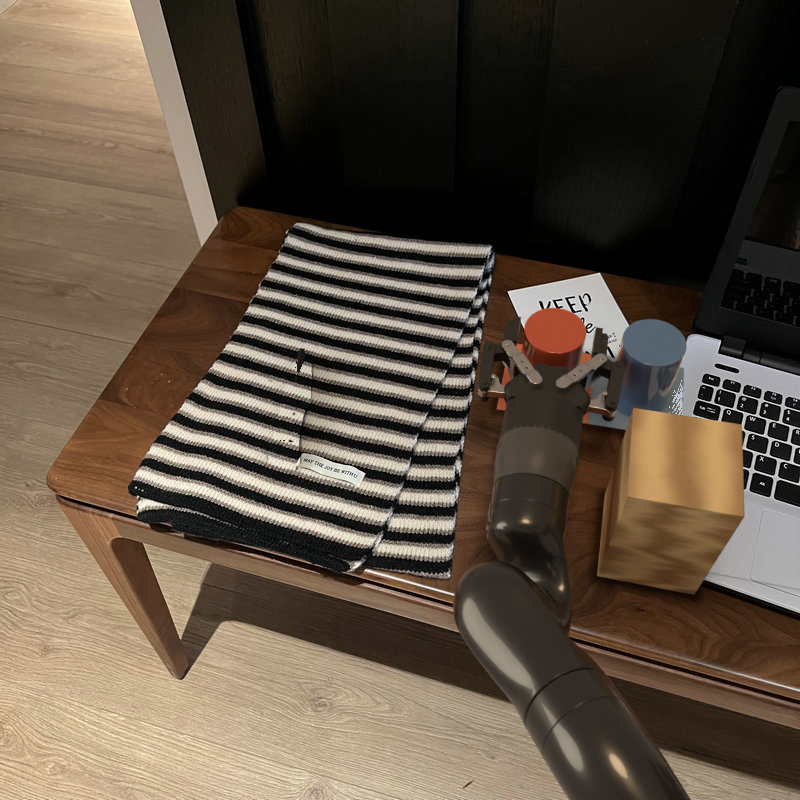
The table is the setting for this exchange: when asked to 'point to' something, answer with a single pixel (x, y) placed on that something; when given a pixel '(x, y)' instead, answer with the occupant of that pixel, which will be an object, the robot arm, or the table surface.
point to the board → (601, 386)
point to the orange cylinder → (554, 338)
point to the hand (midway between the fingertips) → (557, 327)
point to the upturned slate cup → (649, 364)
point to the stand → (671, 500)
